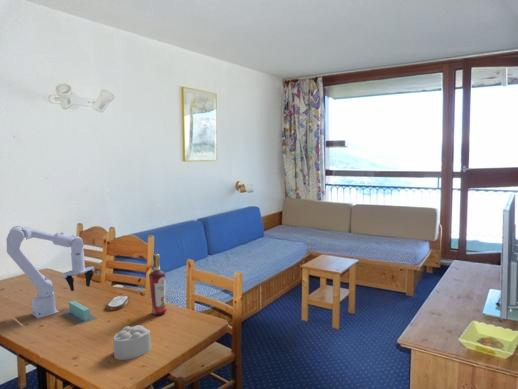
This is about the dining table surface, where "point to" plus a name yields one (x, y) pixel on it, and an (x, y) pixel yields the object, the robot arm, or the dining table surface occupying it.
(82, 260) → the robot arm
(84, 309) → the teal rectangular block
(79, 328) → the dining table surface
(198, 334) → the dining table surface
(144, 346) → the lumpy-topped squat cylinder
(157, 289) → the liquor
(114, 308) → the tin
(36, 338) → the dining table surface
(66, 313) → the tool mat
